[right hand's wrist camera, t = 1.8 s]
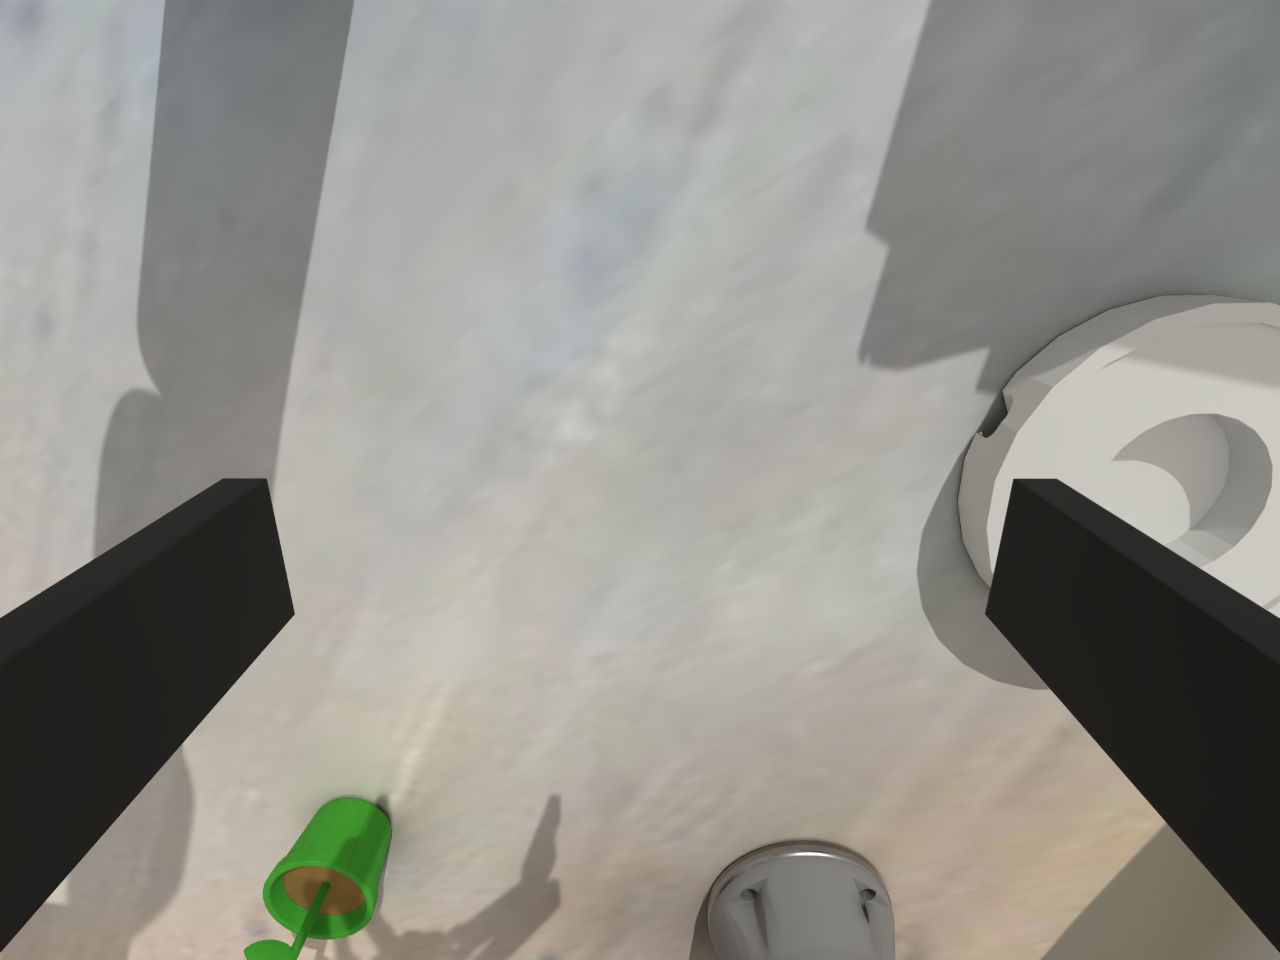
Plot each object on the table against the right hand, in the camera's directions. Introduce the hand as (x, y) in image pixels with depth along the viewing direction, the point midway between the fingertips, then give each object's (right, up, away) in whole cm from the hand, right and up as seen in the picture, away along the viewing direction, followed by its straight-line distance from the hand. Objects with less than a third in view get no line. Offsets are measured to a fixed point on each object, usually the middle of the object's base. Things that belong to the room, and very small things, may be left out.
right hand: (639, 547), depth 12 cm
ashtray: (+32, +1, +32) cm, 46 cm away
